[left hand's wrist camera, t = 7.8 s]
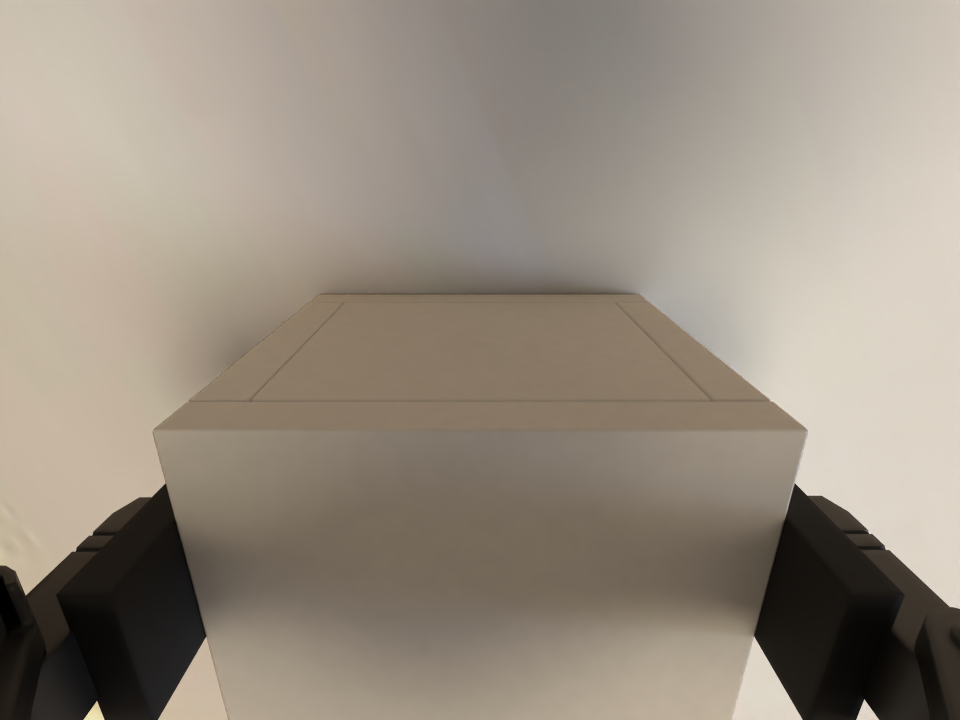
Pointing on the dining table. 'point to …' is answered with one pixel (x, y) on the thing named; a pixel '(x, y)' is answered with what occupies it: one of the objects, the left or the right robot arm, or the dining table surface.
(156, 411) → the dining table surface
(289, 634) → the cabinet
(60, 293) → the dining table surface
